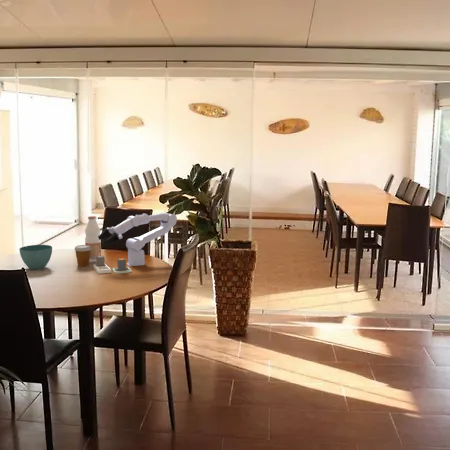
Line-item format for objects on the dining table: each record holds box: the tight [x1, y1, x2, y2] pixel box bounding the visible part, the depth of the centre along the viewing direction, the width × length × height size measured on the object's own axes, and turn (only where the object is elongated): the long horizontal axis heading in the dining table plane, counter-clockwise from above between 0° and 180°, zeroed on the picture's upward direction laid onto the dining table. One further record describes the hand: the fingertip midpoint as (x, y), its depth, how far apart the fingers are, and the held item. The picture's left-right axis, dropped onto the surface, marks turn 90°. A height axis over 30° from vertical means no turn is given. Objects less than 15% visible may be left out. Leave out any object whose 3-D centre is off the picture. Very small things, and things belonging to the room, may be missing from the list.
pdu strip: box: [92, 262, 112, 275], centre depth 325 cm, size 7×16×2 cm, turn 23°
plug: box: [116, 257, 127, 271], centre depth 322 cm, size 4×4×7 cm
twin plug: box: [95, 255, 106, 267], centre depth 328 cm, size 4×4×7 cm
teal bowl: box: [19, 244, 53, 270], centre depth 330 cm, size 18×18×12 cm
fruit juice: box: [84, 215, 102, 263], centre depth 348 cm, size 9×9×28 cm
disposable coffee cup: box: [74, 244, 91, 268], centre depth 336 cm, size 10×10×12 cm
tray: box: [111, 266, 133, 275], centre depth 323 cm, size 9×9×2 cm
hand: (102, 240), depth 325 cm, fingers open, 7 cm apart
